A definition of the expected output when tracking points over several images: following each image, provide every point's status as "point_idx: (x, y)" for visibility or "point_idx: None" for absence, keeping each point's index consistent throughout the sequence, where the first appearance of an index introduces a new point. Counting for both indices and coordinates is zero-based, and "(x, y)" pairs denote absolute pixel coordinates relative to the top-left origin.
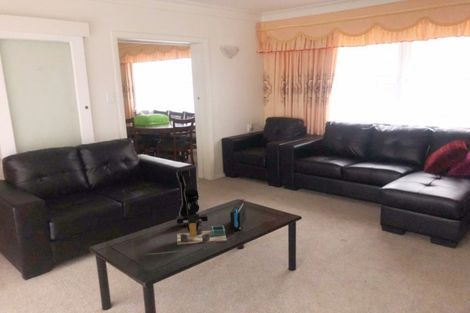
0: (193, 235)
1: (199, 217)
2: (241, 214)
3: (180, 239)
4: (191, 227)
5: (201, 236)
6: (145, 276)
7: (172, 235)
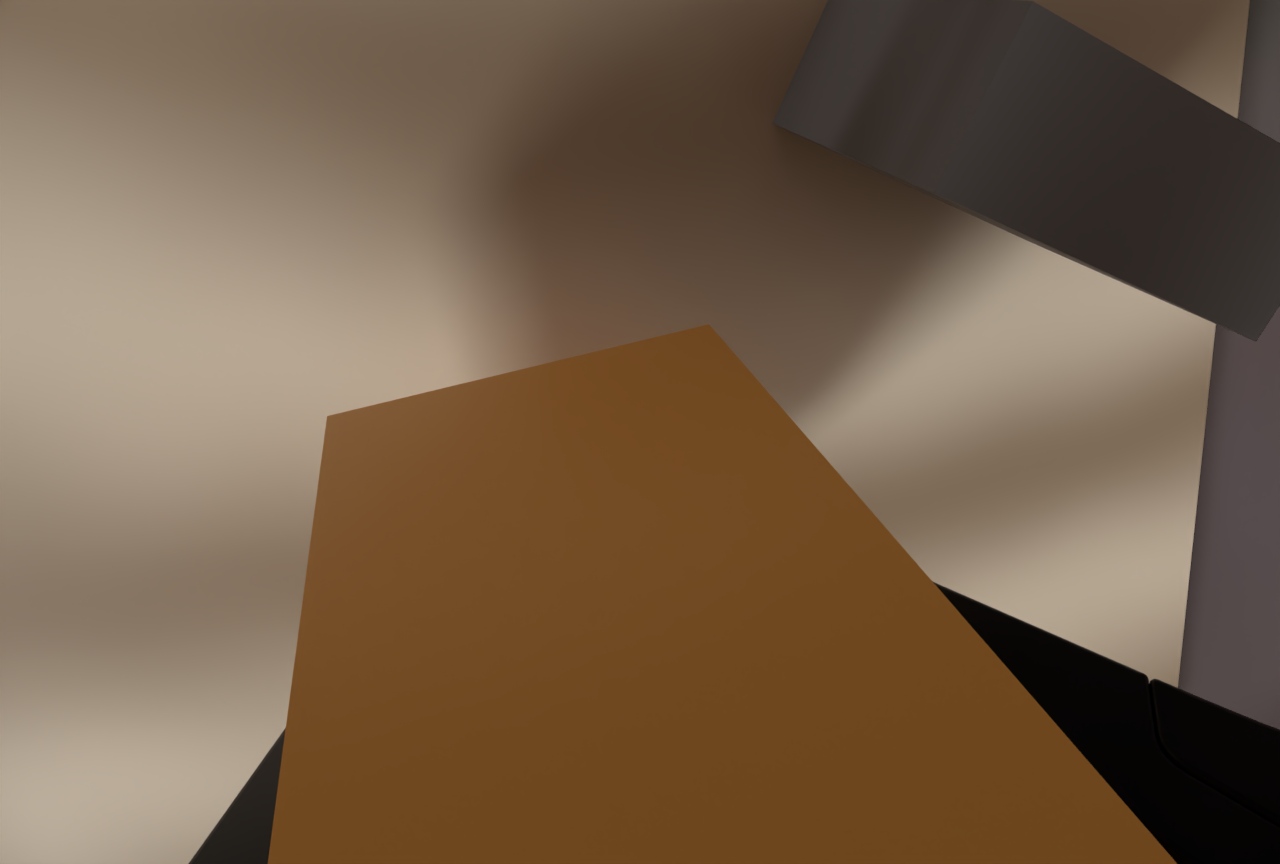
0: (520, 391)
1: None
2: None
3: (1095, 305)
4: (805, 735)
5: (186, 648)
6: None
7: (1273, 703)
